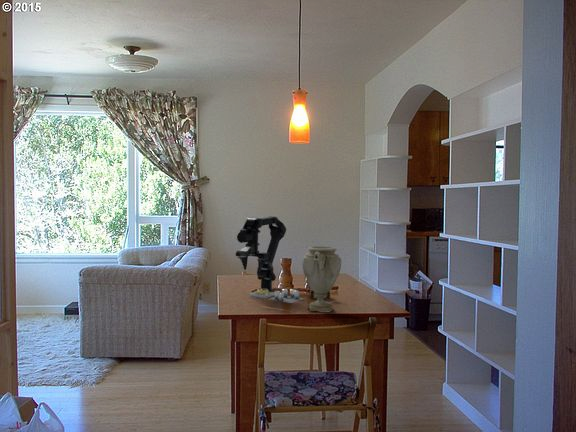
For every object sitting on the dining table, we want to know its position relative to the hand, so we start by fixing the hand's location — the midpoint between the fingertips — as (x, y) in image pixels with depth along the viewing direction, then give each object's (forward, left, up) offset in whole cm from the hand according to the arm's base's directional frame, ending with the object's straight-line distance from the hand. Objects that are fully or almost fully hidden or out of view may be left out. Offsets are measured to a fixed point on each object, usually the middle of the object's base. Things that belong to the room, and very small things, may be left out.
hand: (252, 270), depth 299 cm
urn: (+9, +47, -13) cm, 50 cm away
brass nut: (+1, +8, -13) cm, 15 cm away
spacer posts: (+1, +23, -13) cm, 26 cm away
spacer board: (+1, +23, -13) cm, 26 cm away
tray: (+1, +8, -13) cm, 15 cm away
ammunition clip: (-12, +35, -13) cm, 39 cm away
